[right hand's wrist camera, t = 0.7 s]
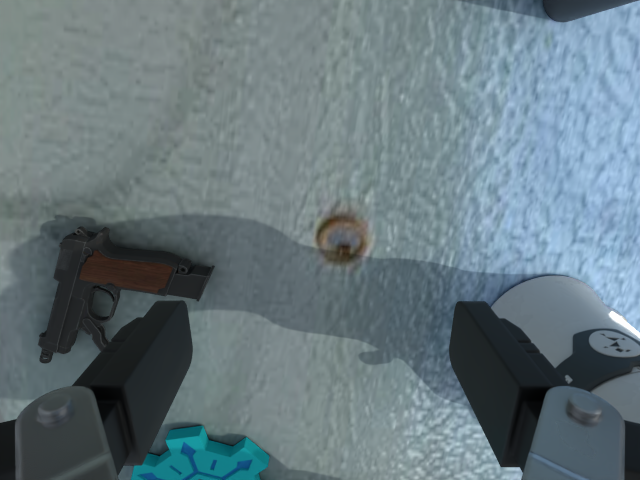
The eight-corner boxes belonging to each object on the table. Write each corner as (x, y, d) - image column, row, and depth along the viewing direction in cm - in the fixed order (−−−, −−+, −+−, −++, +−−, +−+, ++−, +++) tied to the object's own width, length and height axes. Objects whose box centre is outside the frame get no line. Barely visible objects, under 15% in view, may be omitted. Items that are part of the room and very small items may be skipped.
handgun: (208, 279, 40) (59, 219, 36) (151, 406, 47) (25, 365, 44) (216, 262, 43) (79, 206, 40) (162, 384, 51) (44, 345, 47)
